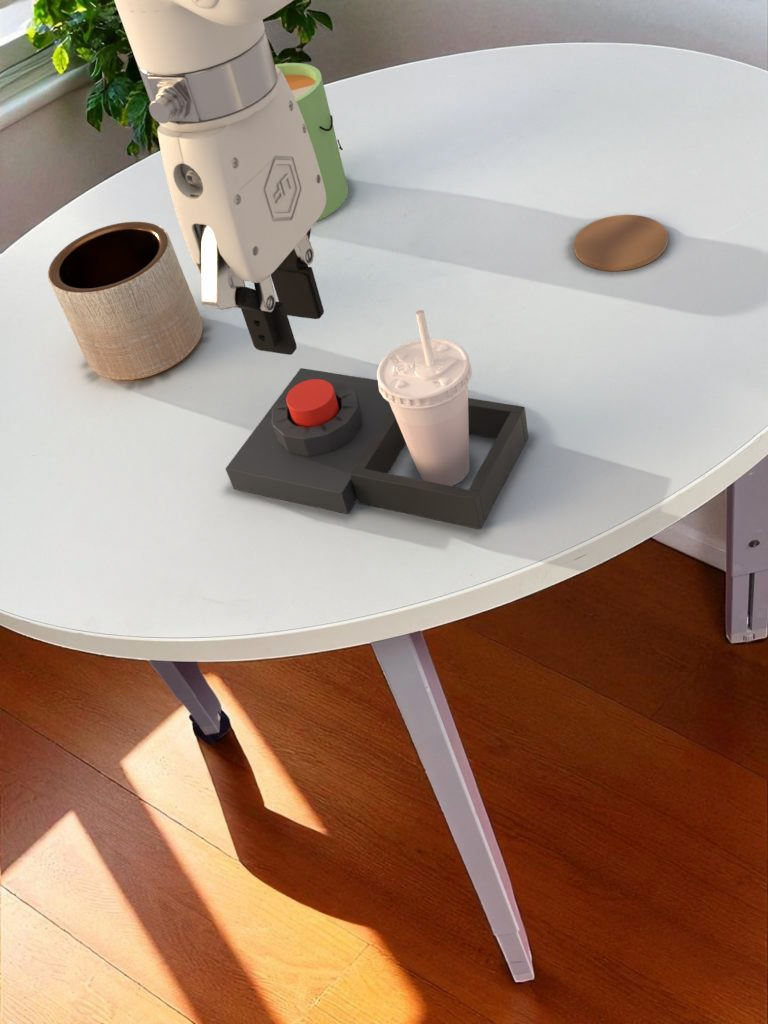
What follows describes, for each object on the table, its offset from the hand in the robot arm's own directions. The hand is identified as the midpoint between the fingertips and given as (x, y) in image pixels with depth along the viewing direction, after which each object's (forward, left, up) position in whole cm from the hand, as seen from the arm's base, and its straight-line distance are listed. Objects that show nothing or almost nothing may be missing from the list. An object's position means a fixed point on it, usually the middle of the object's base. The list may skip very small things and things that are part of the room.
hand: (289, 330), depth 75 cm
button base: (0, 0, -11) cm, 11 cm away
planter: (+23, -8, -11) cm, 27 cm away
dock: (-10, 0, -11) cm, 15 cm away
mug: (+21, -34, -11) cm, 42 cm away
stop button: (0, 0, -8) cm, 8 cm away
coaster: (-14, -30, -11) cm, 35 cm away
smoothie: (-10, 0, -11) cm, 15 cm away
